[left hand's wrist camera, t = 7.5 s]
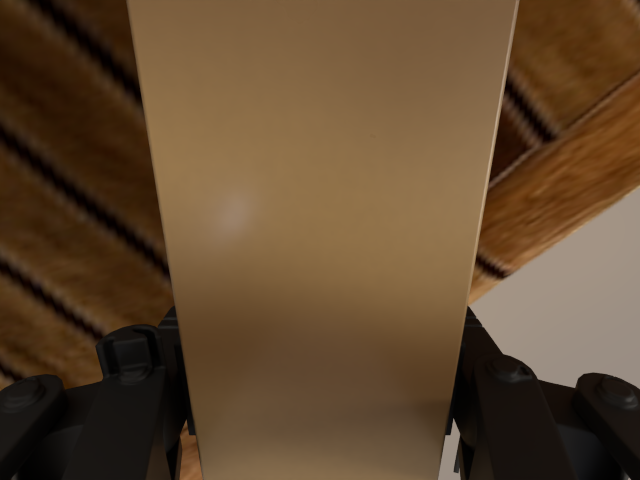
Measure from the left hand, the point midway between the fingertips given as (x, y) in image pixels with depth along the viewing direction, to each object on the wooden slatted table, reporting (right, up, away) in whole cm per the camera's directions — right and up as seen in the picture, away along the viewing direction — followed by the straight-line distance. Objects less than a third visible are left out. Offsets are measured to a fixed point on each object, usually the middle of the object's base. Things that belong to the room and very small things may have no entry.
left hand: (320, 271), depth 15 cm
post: (0, +19, -7) cm, 20 cm away
